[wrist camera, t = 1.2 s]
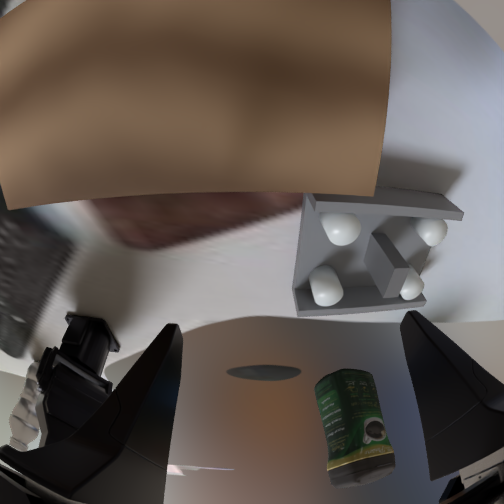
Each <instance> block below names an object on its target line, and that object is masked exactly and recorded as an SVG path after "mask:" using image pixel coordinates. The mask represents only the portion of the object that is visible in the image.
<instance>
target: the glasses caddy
mask: <svg viewBox="0 0 504 504" xmlns="http://www.w3.org/2000/svg"><path fill="white" fill-rule="evenodd" d="M463 215H464V212H463V211H462V210H460V209H459V208H458V207H457V206H456V205H454V204H453V203H452V202H451V201H449V200H448V199H447V198H446V197H444V196H443V195H442V194H436V193H429V192H422V191H414V190H406V189H397V188H388V187H378V186H375V191H374V196H373V197H371V196H357V195H341V194H321V193H304V195H303V205H302V214H301V223H300V231H299V240H298V248H297V255H296V263H295V270H294V278H293V285H292V291H293V296H294V301H295V306H296V311H297V316H298V317H308V316H327V315H342V314H355V313H367V312H378V311H388V310H398V309H406V308H415V307H423V306H424V305H425V303H426V301H427V300H426V299H425V297H424V295H423V294H422V290H423V288H424V282H423V281H422V279H421V278H420V276H419V275H420V273H421V271H422V268H423V266H424V263H425V261H426V258H427V256H428V253H429V251H430V248H431V246H436V245H438V244H439V243H441V242H442V241H443V239H444V238H445V236H446V234H447V229H448V227H447V224H446V222H445V221H444V220H443V219H447V220H458V221H462V218H463Z"/></svg>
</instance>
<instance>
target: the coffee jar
mask: <svg viewBox="0 0 504 504" xmlns="http://www.w3.org/2000/svg"><path fill="white" fill-rule="evenodd" d="M314 390H315V395H316V399H317V404H318V407H319V411H320V415H321V418H322V422H323V427H324V431H325V435H326V440H327V444H328V452H329V453H328V454H329V458H328V464H327V470H328V474H329V477H330V481H331V484H332V485H333V486H334V487H335V488H346V487H354V486H359V485H364V484H368V483H370V482H374V481H376V480H379V479H381V478H383V477H386V476H388V475H390V474H391V473H392V471H393V469H394V468H395V456H394V451H393V448H392V446H391V444H390V442H389V440H388V437H387V433H386V430H385V426H384V421H383V417H382V413H381V409H380V404H379V400H378V395H377V390H376V386H375V383H374V379H373V376H372V374H370V373H369V372H366V371H362V370H357V369H340V370H338V371H336V372H333V373H331V374H328V375H326V376H325V377H323V378H322V379H321V380H320V381H319V382H318V383H317V384H316V386H315V388H314Z"/></svg>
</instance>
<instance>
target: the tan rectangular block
mask: <svg viewBox="0 0 504 504" xmlns="http://www.w3.org/2000/svg"><path fill="white" fill-rule="evenodd" d="M390 68H391V2H390V0H26V1H25V2H23V3H22V4H20V5H19V6H17V7H16V8H14V9H13V10H11V11H10V12H9V13H7V14H6V15H4V16H3V17H2V18H0V183H1V187H2V190H3V194H4V198H5V201H6V204H7V208H8V210H12V209H18V208H24V207H31V206H38V205H45V204H53V203H61V202H69V201H78V200H88V199H98V198H109V197H122V196H136V195H152V194H171V193H199V192H293V193H321V194H341V195H357V196H371V197H373V196H374V191H375V186H376V181H377V176H378V170H379V165H380V159H381V153H382V146H383V139H384V132H385V124H386V116H387V107H388V96H389V84H390Z"/></svg>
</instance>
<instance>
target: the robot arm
mask: <svg viewBox="0 0 504 504" xmlns="http://www.w3.org/2000/svg"><path fill="white" fill-rule="evenodd" d="M65 320H66V321H67V323H68V325H69V326H68V328H67V330H66V332H65V334H64V336H63V339H62V344H61V346H60V349H58V348H57V347H56V346H55V347H54V348H53V349H52V348H48V347H46V349H45V351H44V353H43V356H42V358H41V360H40V363H39V366H38V369H37V372H36V378H37V387H36V390H37V391H38V392H40V393H39V396H38V399H37V403H36V406H35V410H36V415H37V418H38V422H39V426H40V429H41V433H42V435H41V440H40V444H39V448H37V449H33V450H29V451H18V450H16V449H15V448H13V447H11V446H9V445H7V444H6V445H4V446H1V447H0V459H1V460H2V461H3V462H5V463H6V464H8V465H9V466H10V467H12V468H13V469H15V470H16V471H18V472H20V473H21V474H20V473H18V472H16V471H13V470H12V469H9V468H7V467H5V466H4V465H1V464H0V504H163V501H164V491H165V482H166V474H167V465H168V457H169V450H170V442H171V436H172V429H173V423H174V416H175V410H176V403H177V397H178V391H179V386H180V380H181V367H182V350H183V337H182V334H181V331H180V328H179V325H178V324H173V323H168V324H166V325H165V327H164V328H163V329H162V330H161V332H160V333H159V334H158V335H157V337H156V338H155V339H154V340H153V341H152V343H151V344H150V345H149V346H148V348H147V349H146V350H145V351H144V353H143V354H142V355H141V357H140V358H139V359H138V360H137V361H136V363H135V364H134V365H133V366H132V368H131V369H130V370H129V371H128V373H127V374H126V375H125V376H124V378H123V379H122V380H121V382H120V383H119V384H118V386H117V387H116V389H114V390H113V392H112V385H113V383H112V382H110V381H107V380H105V379H103V378H102V377H101V374H102V371H103V368H104V365H105V362H106V359H107V356H108V353H109V351H110V352H119V350H120V349H119V347H118V345H117V343H116V341H115V339H114V338H113V336H112V334H111V332H110V330H109V328H108V326H107V324H106V322H105V321H104V320H103V319H97V318H88V317H80V316H72V315H66V317H65ZM400 331H401V336H402V341H403V346H404V350H405V356H406V361H407V365H408V369H409V372H410V376H411V380H412V383H413V387H414V391H415V395H416V399H417V404H418V408H419V413H420V418H421V422H422V428H423V433H424V438H425V445H426V451H427V458H428V465H429V473H430V480H431V481H433V480H436V479H439V478H441V477H444V476H446V475H449V474H451V473H454V472H456V471H458V470H459V472H460V475H458V476H456V477H454V478H453V479H451V480H450V481H449V483H448V485H447V487H446V489H445V491H444V493H443V494H442V496H441V498H440V500H439V504H504V384H503V383H501V382H500V381H499V380H497V379H496V378H495V377H494V376H492V375H491V374H490V373H489V372H487V371H486V370H485V369H484V368H482V367H481V366H480V365H479V364H478V363H477V362H476V361H475V360H474V359H472V358H471V357H470V356H469V355H468V354H467V353H466V352H465V351H464V350H462V349H461V348H460V347H459V346H458V345H457V344H456V343H454V342H453V341H452V340H451V339H450V338H449V337H448V336H446V335H445V334H444V333H443V332H442V331H440V330H439V329H438V328H437V327H436V326H434V325H433V324H432V323H431V322H430V321H429V320H427V319H426V318H425V317H424V316H423V315H421V314H420V313H419V312H418V311H416V310H413V311H408V312H407V313H406V314H405V316H404V318H403V320H402V322H401V325H400ZM53 366H55V367H53ZM22 474H23V475H22Z"/></svg>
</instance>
